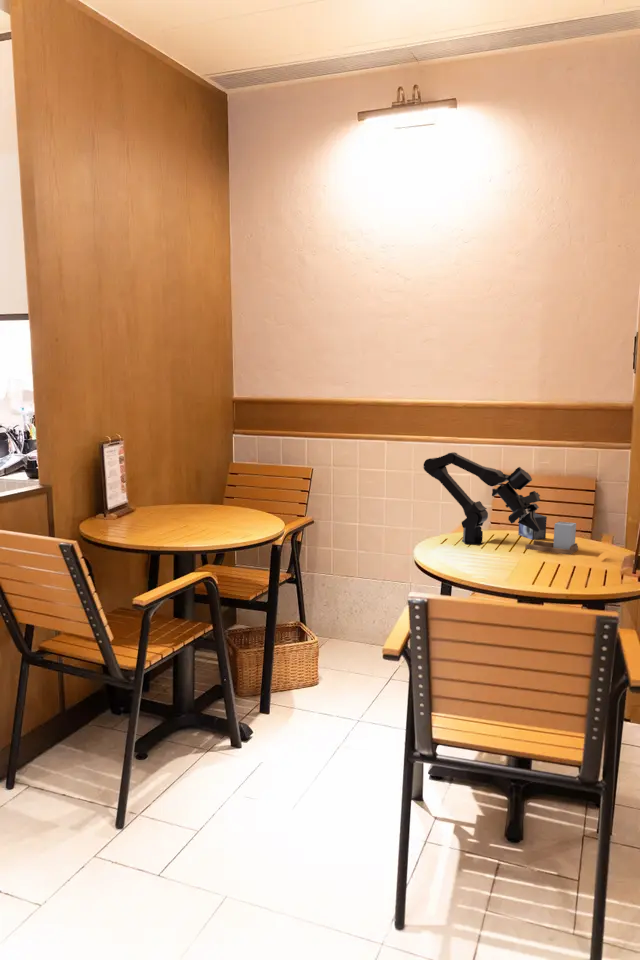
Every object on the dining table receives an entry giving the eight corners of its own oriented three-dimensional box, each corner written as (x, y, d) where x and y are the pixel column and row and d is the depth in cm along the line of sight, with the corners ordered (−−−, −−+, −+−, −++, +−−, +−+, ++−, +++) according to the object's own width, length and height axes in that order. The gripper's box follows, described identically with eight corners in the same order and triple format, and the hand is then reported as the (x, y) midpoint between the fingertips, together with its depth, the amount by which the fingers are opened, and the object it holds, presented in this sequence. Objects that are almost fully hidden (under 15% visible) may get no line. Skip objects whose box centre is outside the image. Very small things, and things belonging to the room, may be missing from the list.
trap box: (525, 552, 281) (525, 541, 281) (534, 548, 290) (534, 537, 289) (569, 558, 272) (570, 547, 272) (577, 553, 281) (578, 543, 281)
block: (553, 551, 278) (554, 523, 276) (557, 548, 283) (559, 521, 281) (570, 553, 274) (571, 525, 273) (574, 550, 279) (576, 523, 278)
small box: (516, 538, 308) (518, 512, 307) (531, 537, 310) (532, 511, 309) (531, 543, 298) (533, 516, 297) (546, 543, 300) (547, 516, 299)
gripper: (519, 486, 276) (547, 521, 271) (535, 481, 291) (562, 514, 287) (496, 506, 281) (524, 540, 277) (513, 500, 297) (540, 532, 292)
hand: (538, 531), depth 283 cm, fingers closed
